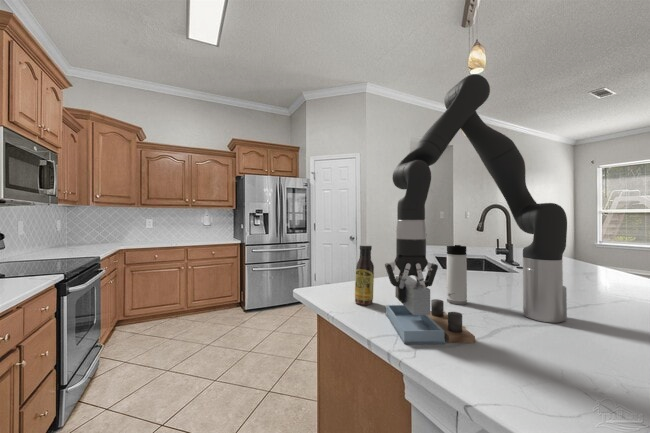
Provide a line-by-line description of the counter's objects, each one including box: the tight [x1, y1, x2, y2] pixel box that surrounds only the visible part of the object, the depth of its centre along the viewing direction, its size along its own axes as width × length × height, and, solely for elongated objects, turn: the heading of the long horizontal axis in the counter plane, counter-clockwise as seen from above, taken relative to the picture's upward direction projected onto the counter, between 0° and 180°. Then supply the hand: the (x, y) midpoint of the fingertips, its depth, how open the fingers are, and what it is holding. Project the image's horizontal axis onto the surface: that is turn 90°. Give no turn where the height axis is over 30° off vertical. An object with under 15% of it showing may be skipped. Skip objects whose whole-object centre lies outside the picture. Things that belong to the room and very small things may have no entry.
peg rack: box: [428, 298, 476, 344], centre depth 74 cm, size 6×18×6 cm, turn 0°
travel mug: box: [446, 244, 468, 306], centre depth 97 cm, size 6×7×20 cm
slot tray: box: [385, 304, 446, 345], centre depth 74 cm, size 9×20×3 cm, turn 0°
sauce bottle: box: [354, 244, 375, 306], centre depth 97 cm, size 6×6×20 cm
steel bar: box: [394, 275, 431, 315], centre depth 75 cm, size 4×16×6 cm, turn 1°
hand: (410, 301), depth 75 cm, fingers closed on steel bar, 4 cm apart
